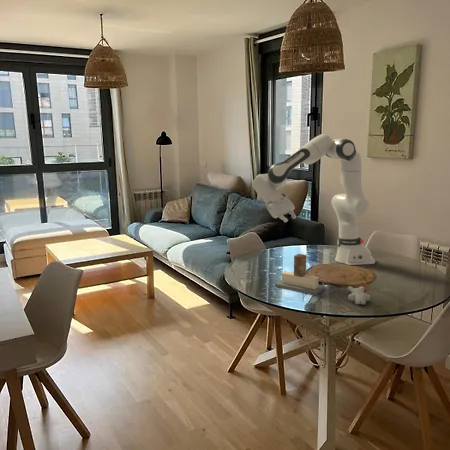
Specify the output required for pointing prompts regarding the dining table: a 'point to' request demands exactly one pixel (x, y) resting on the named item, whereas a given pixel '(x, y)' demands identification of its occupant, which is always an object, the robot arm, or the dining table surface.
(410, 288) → the dining table surface
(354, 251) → the robot arm
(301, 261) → the walnut pillar
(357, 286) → the wooden tablet
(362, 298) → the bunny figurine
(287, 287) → the stand
